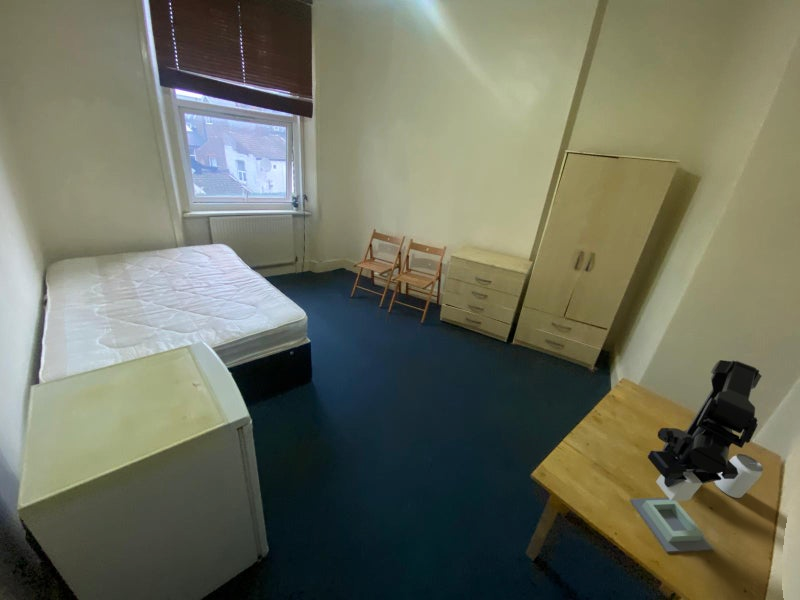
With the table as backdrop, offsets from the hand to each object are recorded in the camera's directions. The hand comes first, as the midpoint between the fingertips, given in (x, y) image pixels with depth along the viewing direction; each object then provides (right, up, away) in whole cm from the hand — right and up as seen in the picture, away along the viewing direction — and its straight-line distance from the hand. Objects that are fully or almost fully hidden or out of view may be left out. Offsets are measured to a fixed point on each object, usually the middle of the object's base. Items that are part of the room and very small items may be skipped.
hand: (676, 485), depth 84 cm
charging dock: (+1, -12, +4) cm, 13 cm away
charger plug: (0, -2, +1) cm, 2 cm away
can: (+28, -9, +15) cm, 33 cm away
